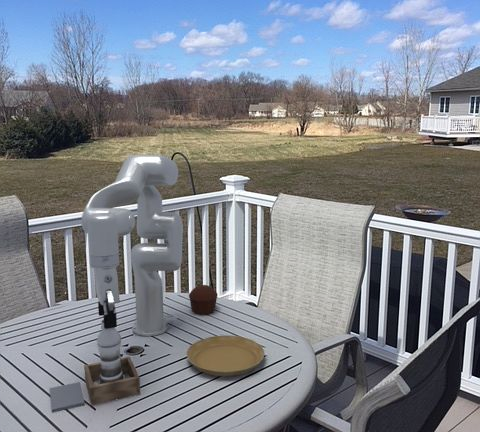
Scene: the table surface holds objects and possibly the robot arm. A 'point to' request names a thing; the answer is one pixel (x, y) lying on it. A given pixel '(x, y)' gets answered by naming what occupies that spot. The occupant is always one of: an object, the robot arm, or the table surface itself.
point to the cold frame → (112, 383)
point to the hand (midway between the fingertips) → (107, 320)
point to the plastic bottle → (109, 354)
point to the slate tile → (66, 396)
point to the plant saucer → (225, 355)
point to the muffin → (203, 300)
